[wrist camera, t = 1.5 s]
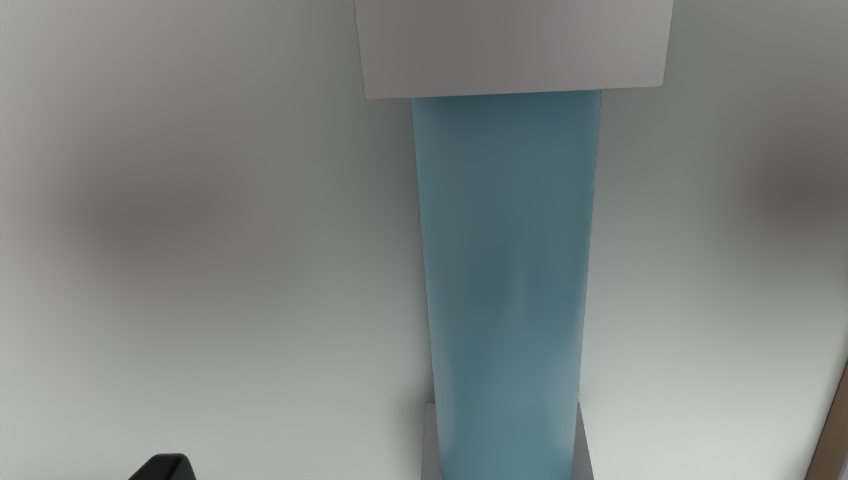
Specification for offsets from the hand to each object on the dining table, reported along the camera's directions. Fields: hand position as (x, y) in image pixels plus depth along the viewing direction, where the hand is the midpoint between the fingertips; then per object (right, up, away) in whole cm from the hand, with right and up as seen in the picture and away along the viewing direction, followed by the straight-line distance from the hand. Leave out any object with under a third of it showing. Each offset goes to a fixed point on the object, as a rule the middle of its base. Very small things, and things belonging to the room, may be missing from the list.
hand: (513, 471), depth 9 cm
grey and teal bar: (0, +3, +5) cm, 6 cm away
